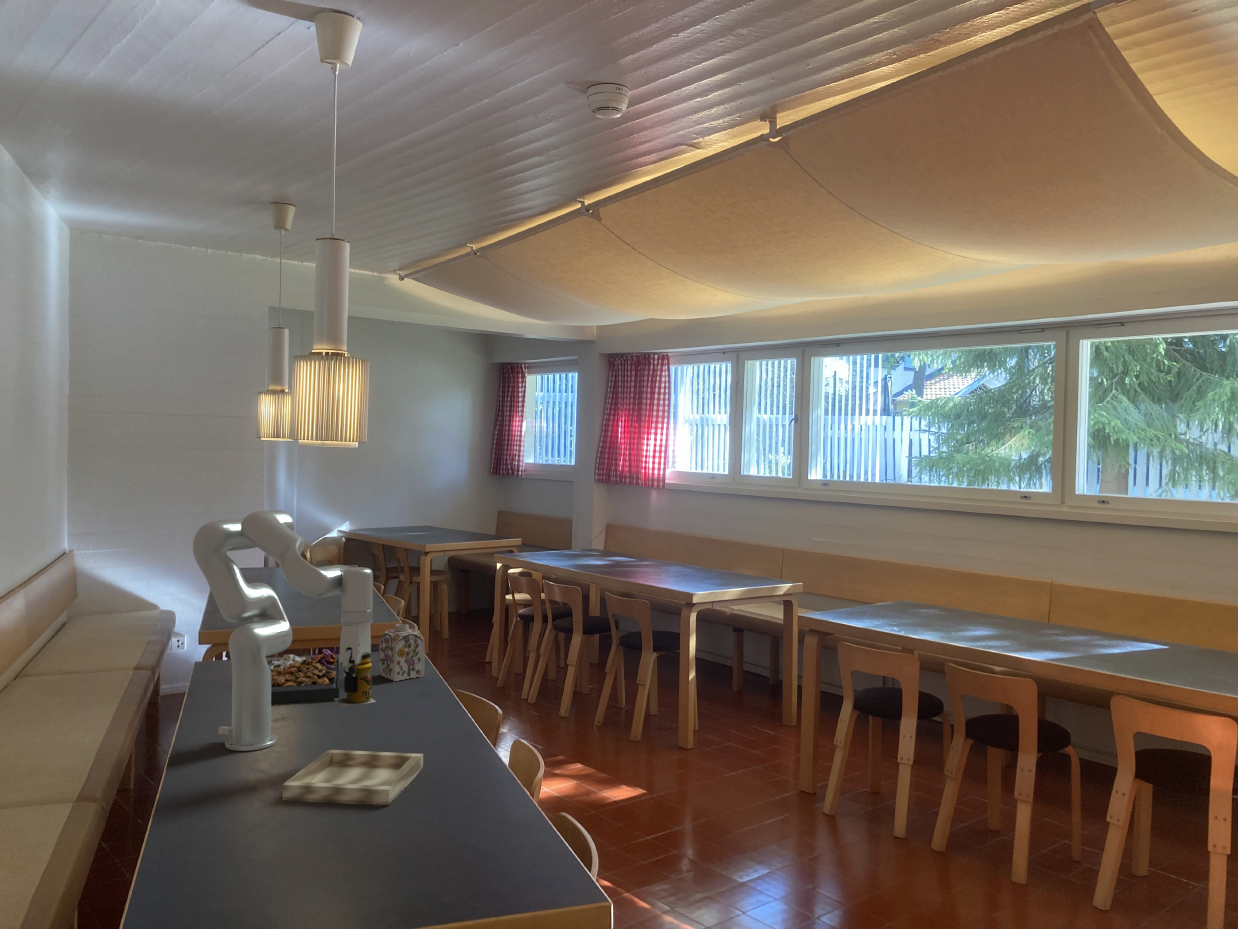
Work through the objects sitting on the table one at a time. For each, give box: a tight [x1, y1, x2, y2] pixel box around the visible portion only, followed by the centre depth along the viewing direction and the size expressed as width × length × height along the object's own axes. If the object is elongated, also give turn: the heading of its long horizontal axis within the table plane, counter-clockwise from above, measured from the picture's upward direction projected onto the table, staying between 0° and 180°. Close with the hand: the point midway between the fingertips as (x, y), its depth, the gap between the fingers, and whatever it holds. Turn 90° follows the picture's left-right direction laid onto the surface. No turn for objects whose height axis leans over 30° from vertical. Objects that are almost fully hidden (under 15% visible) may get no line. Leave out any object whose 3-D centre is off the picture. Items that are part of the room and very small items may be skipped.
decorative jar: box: [378, 623, 425, 682], centre depth 308 cm, size 12×12×18 cm
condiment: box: [334, 652, 377, 707], centre depth 222 cm, size 7×8×12 cm
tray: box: [281, 749, 424, 806], centre depth 205 cm, size 24×24×4 cm
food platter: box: [266, 645, 340, 706], centre depth 294 cm, size 45×25×10 cm, turn 18°
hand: (356, 688), depth 223 cm, fingers closed on condiment, 6 cm apart
